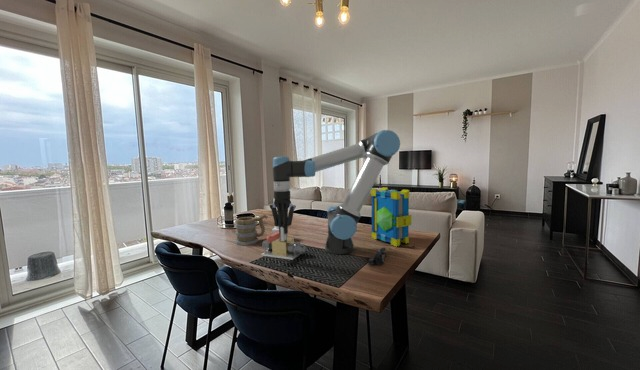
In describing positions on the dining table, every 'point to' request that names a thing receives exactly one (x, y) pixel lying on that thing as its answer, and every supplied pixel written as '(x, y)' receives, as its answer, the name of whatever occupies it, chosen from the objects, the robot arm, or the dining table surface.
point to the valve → (283, 249)
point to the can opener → (378, 257)
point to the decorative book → (390, 215)
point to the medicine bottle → (275, 229)
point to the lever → (274, 237)
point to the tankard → (248, 230)
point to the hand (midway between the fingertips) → (283, 240)
